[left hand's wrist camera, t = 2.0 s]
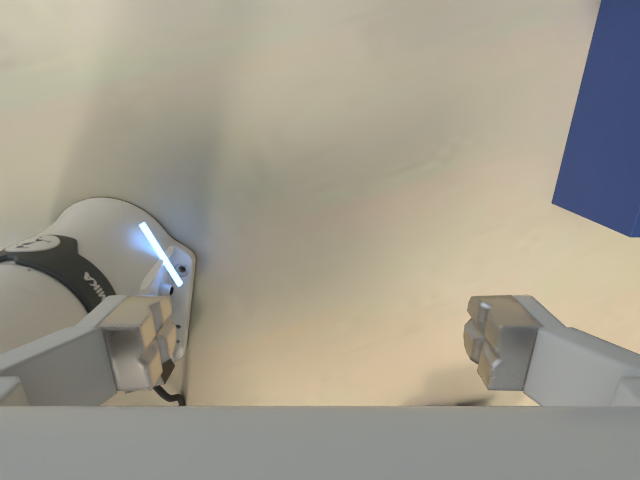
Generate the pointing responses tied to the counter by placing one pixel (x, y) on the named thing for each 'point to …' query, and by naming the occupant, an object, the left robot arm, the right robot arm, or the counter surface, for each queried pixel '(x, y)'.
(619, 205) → the box
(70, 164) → the counter surface
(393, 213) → the counter surface
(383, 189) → the counter surface
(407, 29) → the counter surface
